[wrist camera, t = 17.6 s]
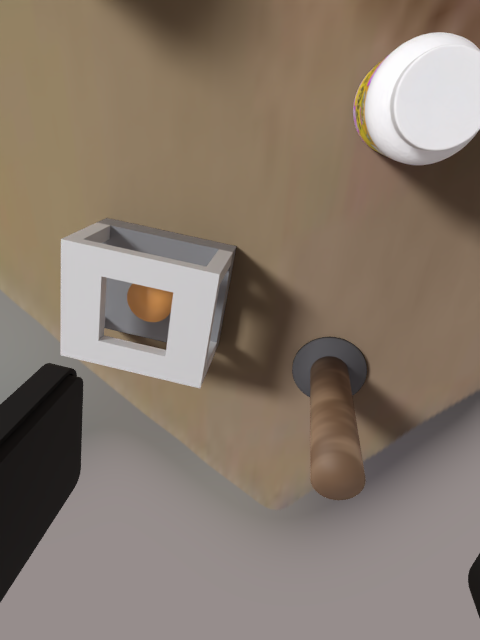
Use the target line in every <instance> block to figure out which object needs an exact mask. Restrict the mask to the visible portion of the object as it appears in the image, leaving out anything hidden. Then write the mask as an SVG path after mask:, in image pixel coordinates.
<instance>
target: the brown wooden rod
mask: <svg viewBox="0 0 480 640" xmlns="http://www.w3.org/2000/svg"><path fill="white" fill-rule="evenodd" d="M310 453H311V484H312V486H313V488H314V489H315V490H316V491H317V492H318V493H319V494H320V495H322V496H324V497H326V498H329V499H333V500H346V499H350V498H352V497H354V496H356V495H358V494H359V493H360V492H361V491H362V490H363V488H364V485H365V474H364V467H363V461H362V455H361V448H360V442H359V435H358V429H357V423H356V416H355V410H354V404H353V397H352V391H351V385H350V378H349V372H348V368H347V365H346V364H345V363H344V362H343V361H342V360H341V359H339V358H337V357H333V356H326V357H322V358H319V359H318V360H316V361H315V362H314V363H313V365H312V367H311V370H310Z"/></svg>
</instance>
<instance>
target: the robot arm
mask: <svg viewBox="0 0 480 640" xmlns="http://www.w3.org/2000/svg"><path fill="white" fill-rule="evenodd" d="M82 403H83V380H82V379H81V378H80V377H77V375H76V371H75V370H74V369H72V368H68V367H63V366H59V365H55V364H51V363H48V364H45V365H44V366H42V367H41V368H40V369H39V370H38V371H37V372H36V373H35V374H34V375H33V376H32V377H30V378H29V379H28V380H27V381H26V382H25V383H24V384H23V385H22V386H20V387H19V388H18V389H17V390H16V391H15V392H14V393H13V394H12V395H10V397H8V398H7V399H6V400H5V401H4V402H3V403H2V404H1V405H0V602H1V601H2V599H3V597H4V596H5V594H6V593H7V591H8V589H9V588H10V587H11V585H12V584H13V582H14V580H15V579H16V577H17V576H18V574H19V573H20V571H21V569H22V568H23V567H24V565H25V563H26V562H27V560H28V559H29V557H30V556H31V554H32V553H33V551H34V549H35V548H36V546H37V545H38V543H39V542H40V540H41V539H42V537H43V536H44V534H45V532H46V531H47V529H48V528H49V526H50V525H51V523H52V522H53V520H54V519H55V517H56V515H57V514H58V512H59V511H60V509H61V508H62V506H63V505H64V503H65V502H66V500H67V498H68V497H69V495H70V494H71V492H72V491H73V489H74V488H75V486H76V484H77V481H78V479H79V475H80V470H81V438H82ZM468 583H469V588H470V591H471V594H472V597H473V600H474V603H475V606H476V609H477V612H478V615H479V617H480V554H479V555H478V557H477V558H476V560H475V562H474V563H473V565H472V567H471V568H470V571H469V575H468Z"/></svg>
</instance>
